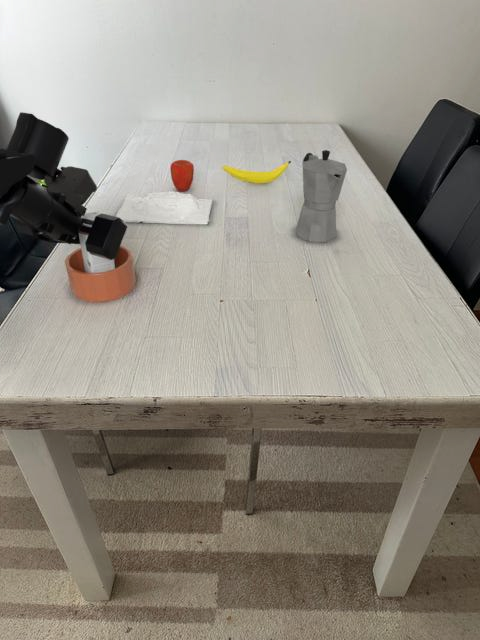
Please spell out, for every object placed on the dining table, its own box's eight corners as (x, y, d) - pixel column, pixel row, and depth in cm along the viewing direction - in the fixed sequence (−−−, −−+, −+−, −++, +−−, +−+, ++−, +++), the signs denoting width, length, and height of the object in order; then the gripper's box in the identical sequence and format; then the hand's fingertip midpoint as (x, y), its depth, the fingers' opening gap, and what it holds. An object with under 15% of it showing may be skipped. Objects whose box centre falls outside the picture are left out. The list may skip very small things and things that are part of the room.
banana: (221, 181, 124) (221, 158, 121) (288, 182, 125) (290, 159, 121) (221, 185, 122) (221, 162, 118) (289, 185, 123) (291, 162, 119)
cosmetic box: (85, 277, 81) (72, 214, 73) (109, 271, 82) (98, 209, 75) (95, 293, 76) (81, 228, 69) (120, 287, 78) (109, 223, 71)
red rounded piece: (198, 191, 118) (197, 163, 114) (176, 195, 116) (174, 166, 111) (189, 184, 123) (188, 156, 118) (168, 187, 120) (166, 159, 116)
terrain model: (122, 203, 113) (119, 184, 110) (212, 198, 115) (210, 178, 112) (113, 230, 100) (108, 209, 97) (214, 224, 101) (213, 203, 98)
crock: (76, 308, 74) (68, 280, 71) (68, 276, 82) (61, 249, 79) (142, 294, 78) (138, 267, 74) (128, 264, 86) (124, 239, 83)
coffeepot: (349, 244, 94) (364, 158, 84) (309, 250, 92) (319, 162, 81) (317, 216, 106) (326, 137, 95) (280, 220, 104) (286, 140, 93)
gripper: (108, 164, 59) (162, 213, 74) (10, 145, 66) (77, 194, 81) (78, 240, 58) (139, 275, 73) (-19, 213, 65) (55, 250, 79)
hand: (101, 246), depth 76 cm, fingers closed on cosmetic box, 7 cm apart
